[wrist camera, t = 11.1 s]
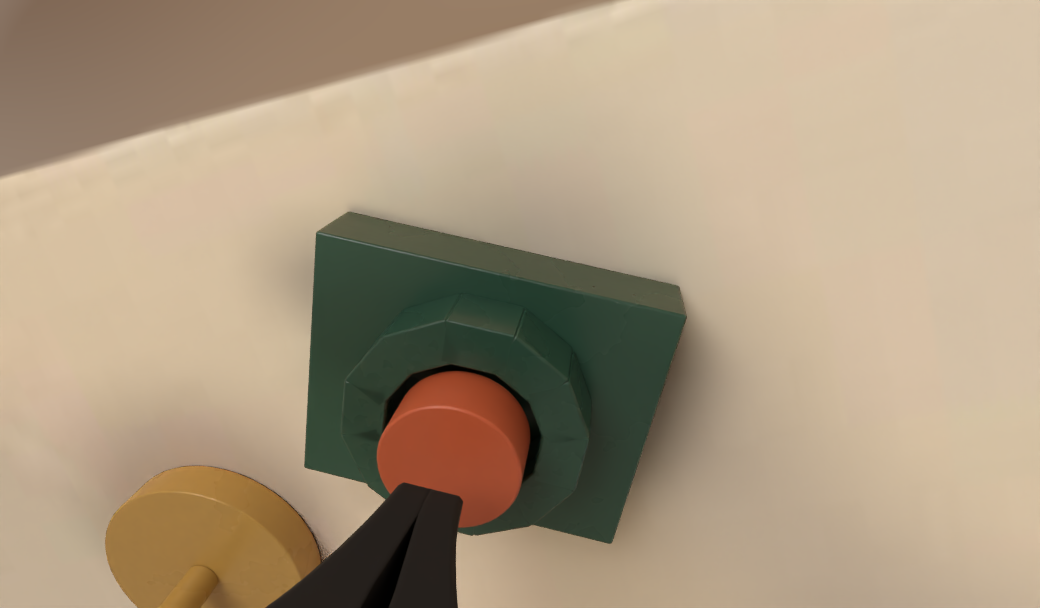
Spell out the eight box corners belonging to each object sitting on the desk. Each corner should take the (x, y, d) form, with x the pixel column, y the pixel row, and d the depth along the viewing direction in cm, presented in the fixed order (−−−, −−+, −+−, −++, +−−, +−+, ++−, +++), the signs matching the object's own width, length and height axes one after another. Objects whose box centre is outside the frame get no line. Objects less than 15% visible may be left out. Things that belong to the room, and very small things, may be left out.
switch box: (679, 285, 18) (696, 347, 14) (612, 497, 21) (611, 592, 17) (347, 210, 18) (281, 252, 15) (332, 428, 22) (275, 507, 18)
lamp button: (543, 387, 16) (534, 426, 14) (517, 497, 17) (507, 544, 15) (405, 355, 16) (382, 390, 14) (392, 465, 17) (369, 509, 16)
